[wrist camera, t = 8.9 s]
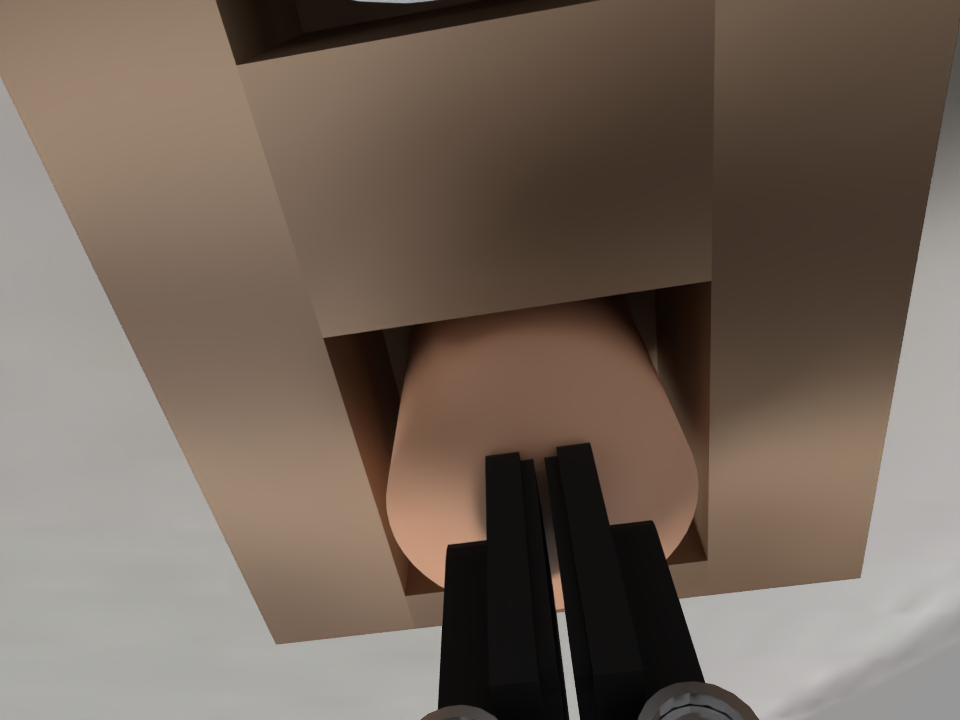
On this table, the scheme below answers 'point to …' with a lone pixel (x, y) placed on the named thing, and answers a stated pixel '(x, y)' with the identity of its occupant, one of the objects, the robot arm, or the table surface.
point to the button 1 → (533, 424)
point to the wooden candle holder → (496, 244)
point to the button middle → (395, 1)
